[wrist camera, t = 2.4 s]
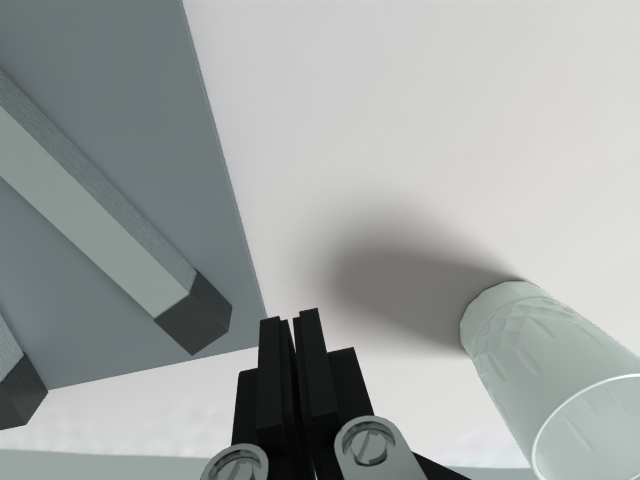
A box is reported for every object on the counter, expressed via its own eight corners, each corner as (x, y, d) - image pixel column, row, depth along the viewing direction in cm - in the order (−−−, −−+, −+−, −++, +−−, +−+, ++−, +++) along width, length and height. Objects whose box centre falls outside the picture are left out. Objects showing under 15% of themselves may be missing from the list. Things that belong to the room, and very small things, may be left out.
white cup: (466, 382, 31) (547, 514, 22) (436, 300, 28) (515, 415, 19) (566, 340, 31) (692, 459, 21) (547, 253, 28) (684, 347, 18)
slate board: (-357, -87, 17) (-393, -95, 16) (134, -173, 17) (127, -186, 16) (-30, 397, 27) (-41, 408, 26) (271, 334, 28) (271, 343, 27)
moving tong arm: (-270, -50, 17) (-383, -74, 14) (-193, -135, 16) (-294, -178, 13) (170, 348, 26) (158, 383, 23) (232, 306, 25) (227, 337, 22)
